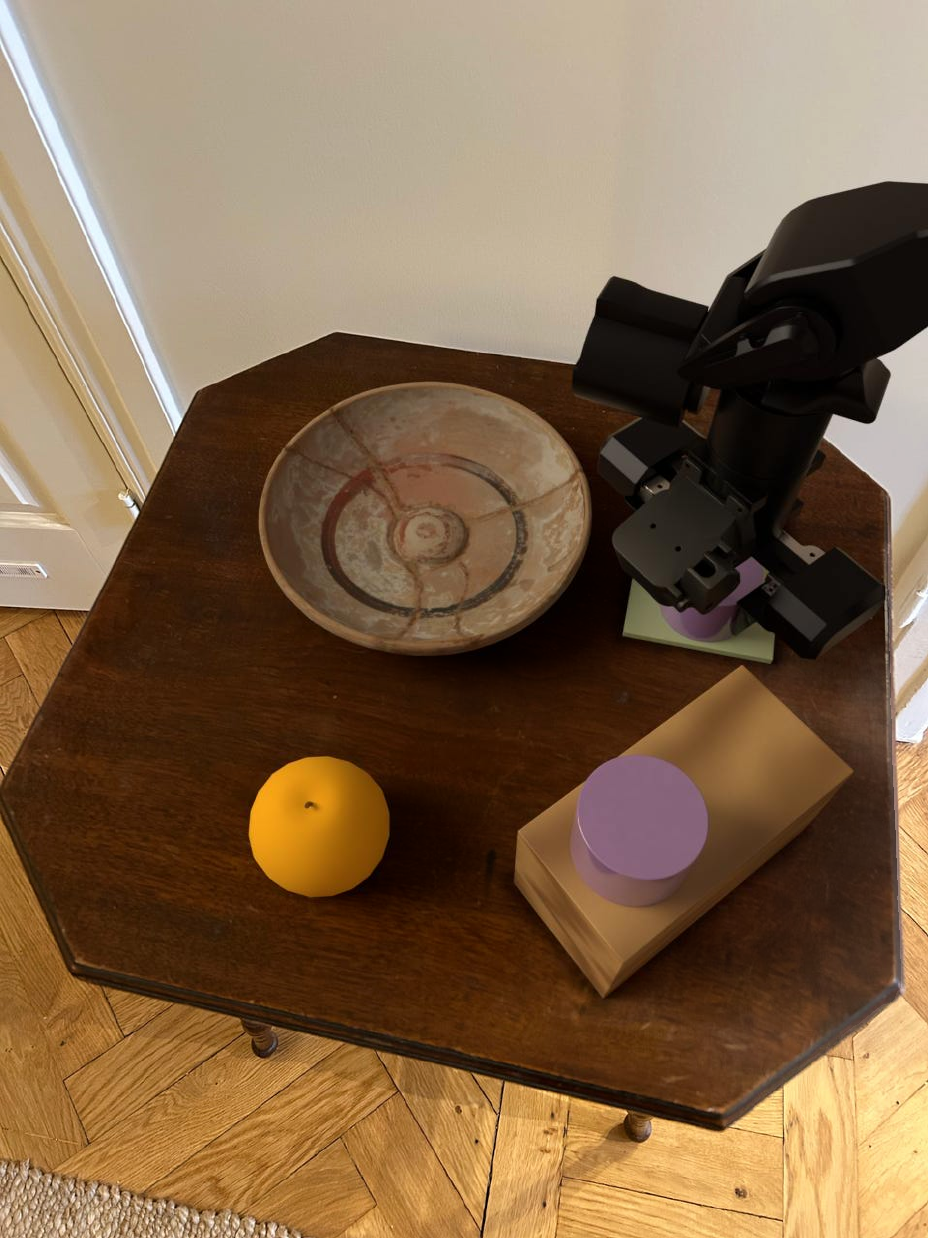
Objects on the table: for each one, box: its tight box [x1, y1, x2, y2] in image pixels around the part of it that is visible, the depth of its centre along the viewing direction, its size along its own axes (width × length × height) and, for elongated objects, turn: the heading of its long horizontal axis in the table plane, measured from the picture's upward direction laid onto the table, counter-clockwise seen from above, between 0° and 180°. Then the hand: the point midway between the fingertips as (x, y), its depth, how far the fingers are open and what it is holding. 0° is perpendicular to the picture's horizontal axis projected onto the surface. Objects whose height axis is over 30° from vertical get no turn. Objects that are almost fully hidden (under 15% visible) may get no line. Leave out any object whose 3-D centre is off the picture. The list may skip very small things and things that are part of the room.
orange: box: [248, 755, 390, 898], centre depth 52 cm, size 8×8×8 cm
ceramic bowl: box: [258, 381, 593, 657], centre depth 65 cm, size 23×24×5 cm
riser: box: [513, 664, 855, 999], centre depth 50 cm, size 8×16×9 cm, turn 126°
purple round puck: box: [659, 557, 763, 642], centre depth 61 cm, size 6×6×4 cm
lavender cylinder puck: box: [570, 755, 709, 907], centre depth 43 cm, size 6×6×4 cm
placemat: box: [622, 566, 776, 665], centre depth 65 cm, size 14×10×1 cm
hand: (704, 599), depth 62 cm, fingers closed on purple round puck, 6 cm apart
